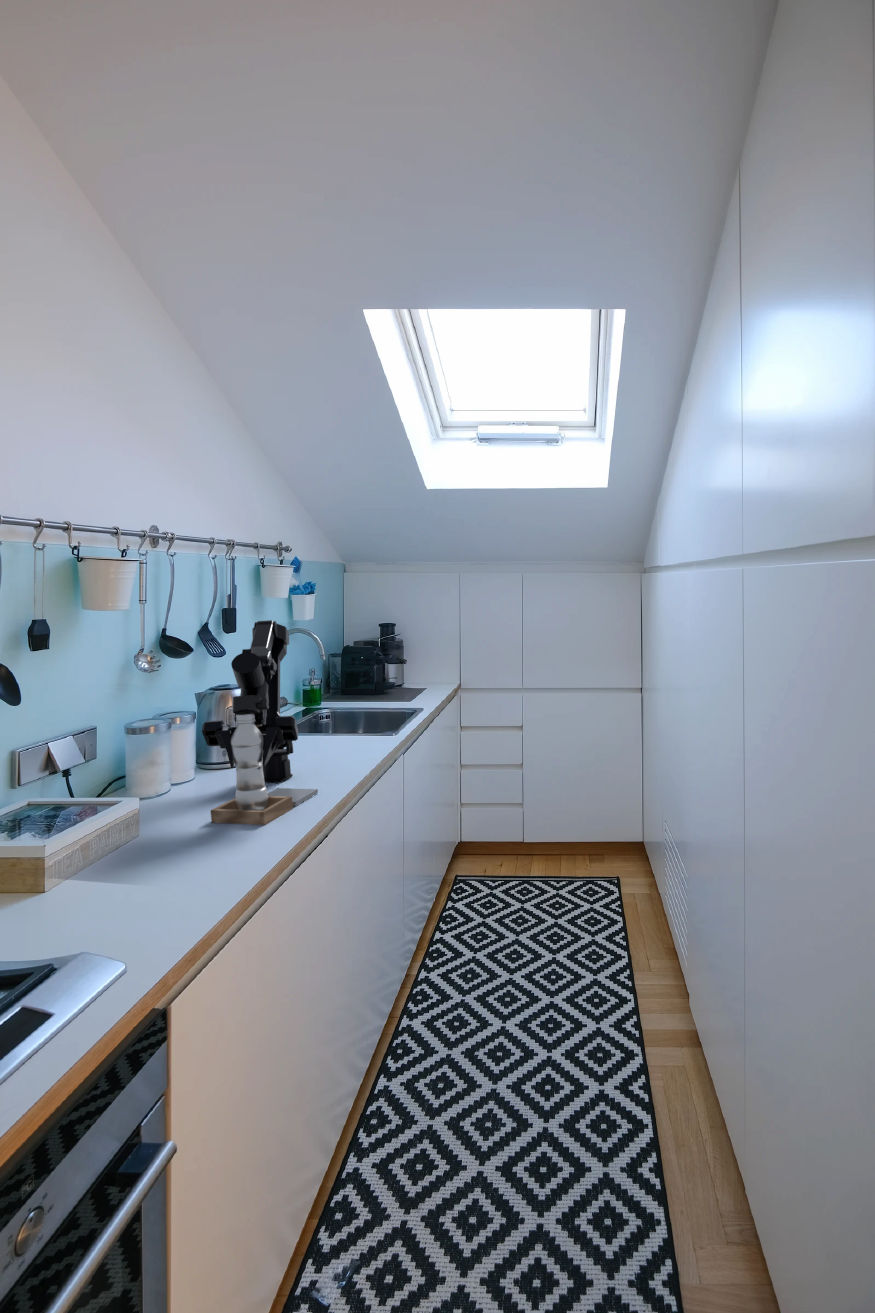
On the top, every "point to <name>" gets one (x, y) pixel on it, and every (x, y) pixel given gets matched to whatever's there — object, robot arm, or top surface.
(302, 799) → the slate pad
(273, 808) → the walnut collar
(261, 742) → the plastic bottle
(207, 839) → the top surface
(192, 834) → the top surface
